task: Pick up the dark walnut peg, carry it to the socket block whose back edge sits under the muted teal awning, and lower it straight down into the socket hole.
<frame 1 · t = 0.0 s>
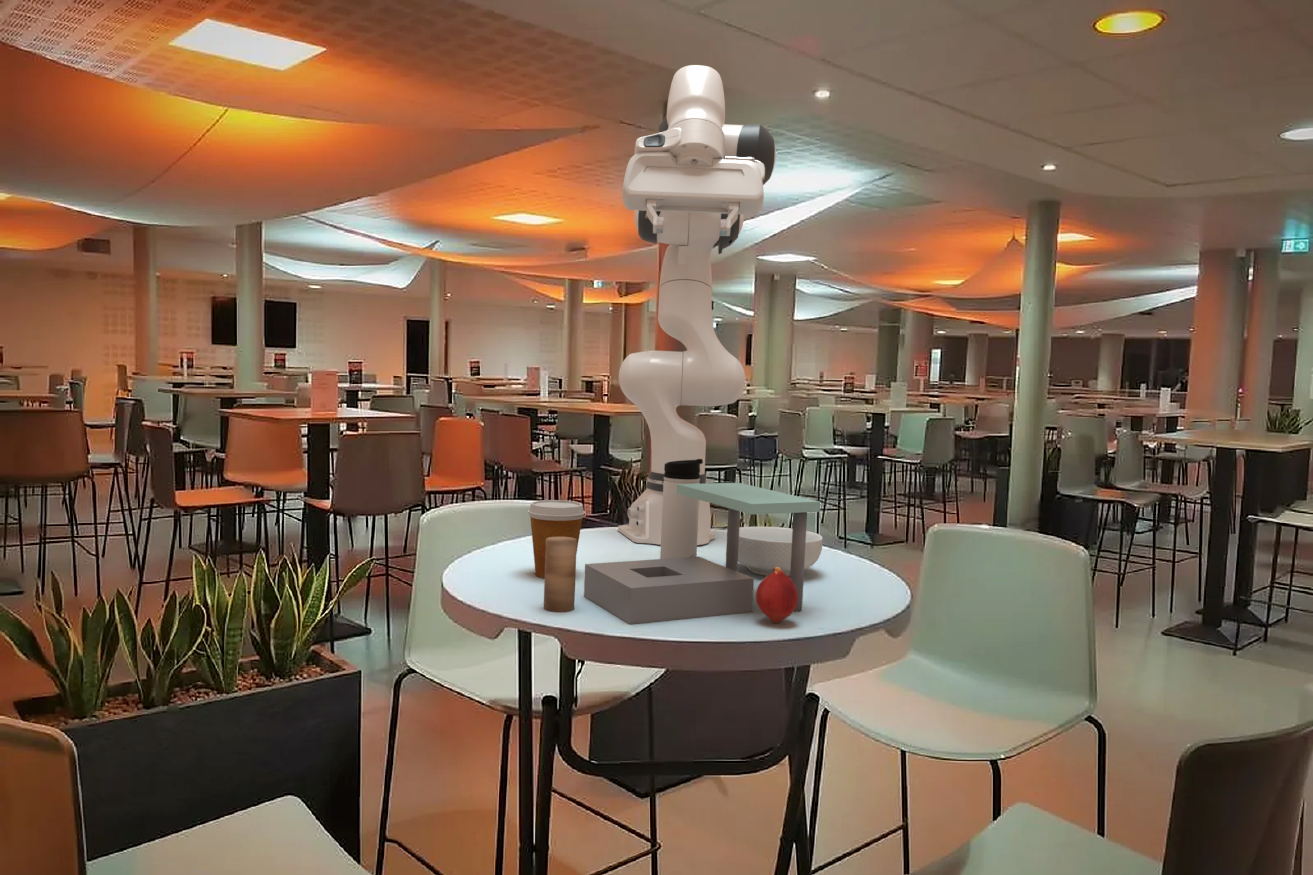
hand: (691, 232, 127), 54 cm above the table, tool tilted 30°, fingers open, 8 cm apart
walnut peg: (558, 608, 130), on the table
disposable coffee cup: (554, 576, 151), on the table
socket block: (654, 605, 134), on the table
onion: (775, 624, 127), on the table
awning: (742, 545, 140), on the table
cereal bowl: (772, 573, 160), on the table
travel mug: (678, 574, 156), on the table
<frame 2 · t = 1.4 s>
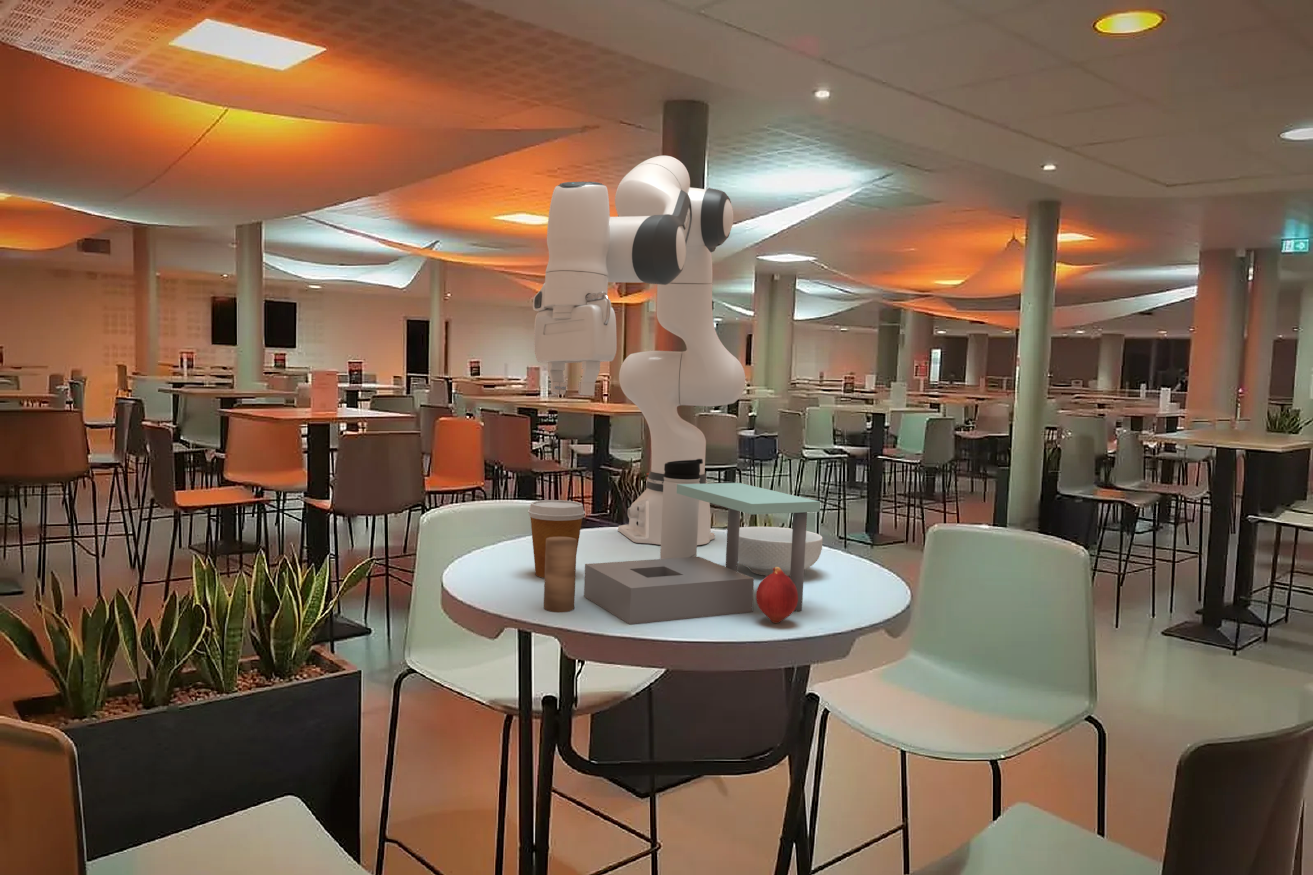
hand: (571, 394, 127), 31 cm above the table, tool pointing down, fingers open, 8 cm apart
nothing on the table moved.
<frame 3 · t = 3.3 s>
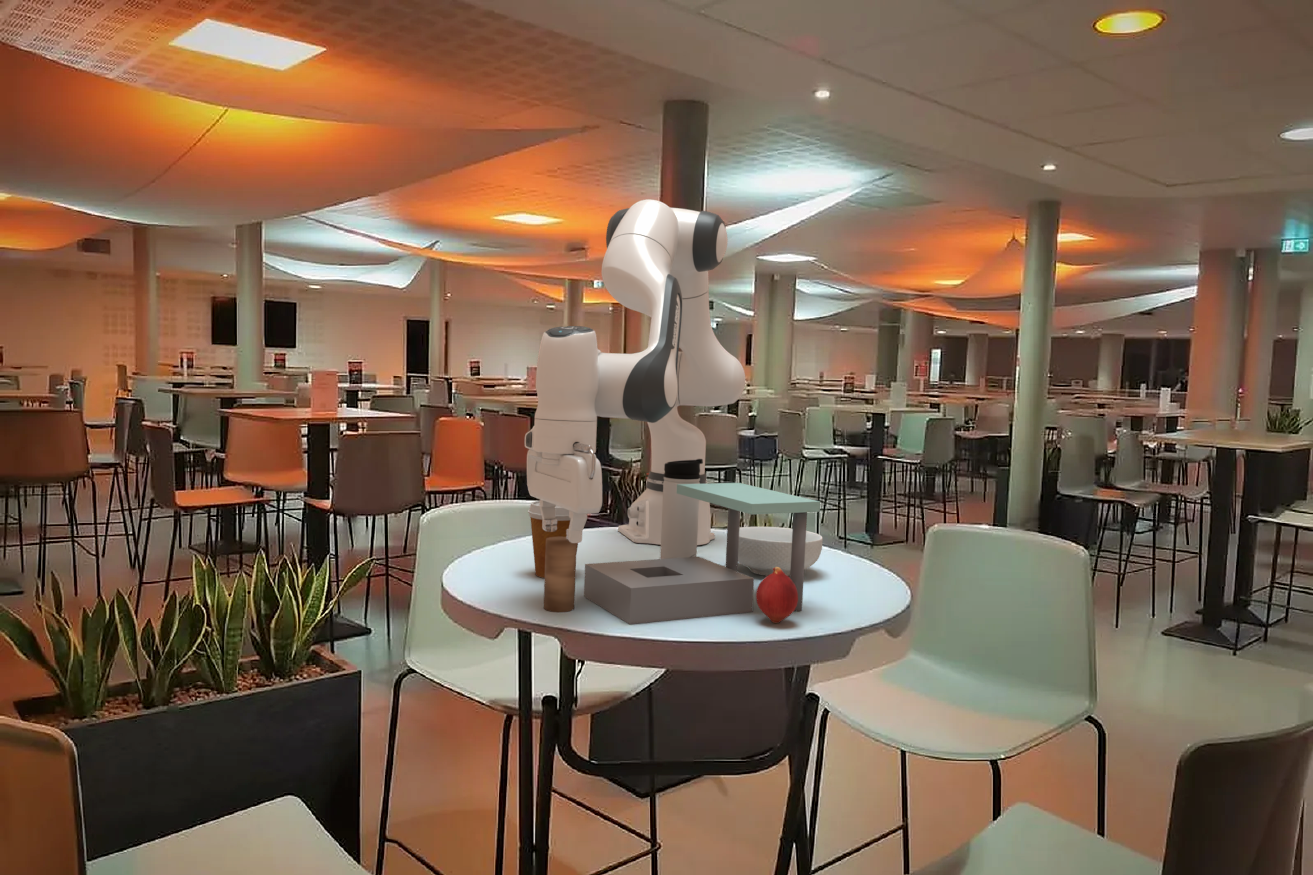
hand: (561, 536, 129), 10 cm above the table, tool pointing down, fingers open, 8 cm apart
nothing on the table moved.
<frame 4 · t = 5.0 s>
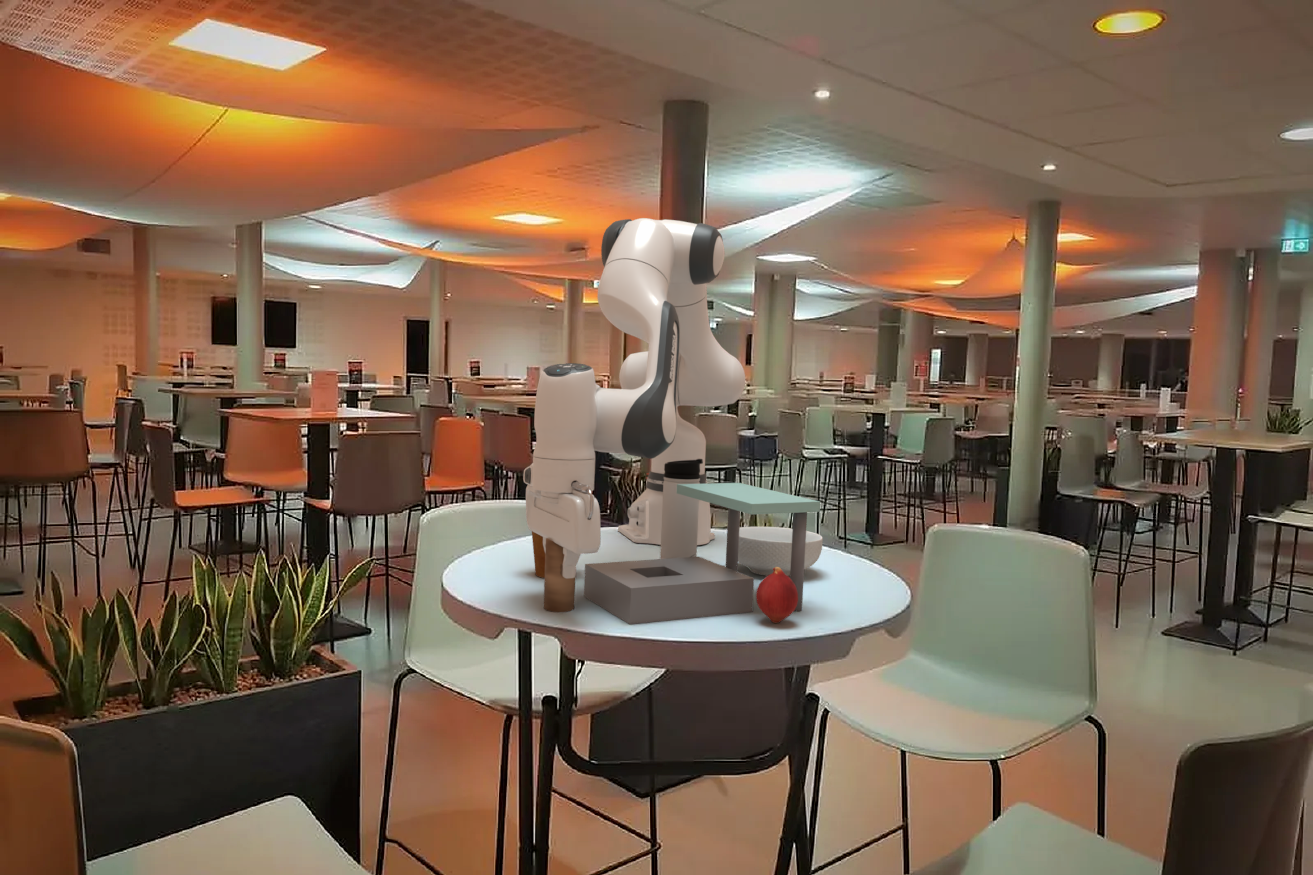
hand: (560, 572, 129), 5 cm above the table, tool pointing down, fingers closed on walnut peg, 4 cm apart
walnut peg: (558, 607, 130), on the table, touching gripper
everything else where it was.
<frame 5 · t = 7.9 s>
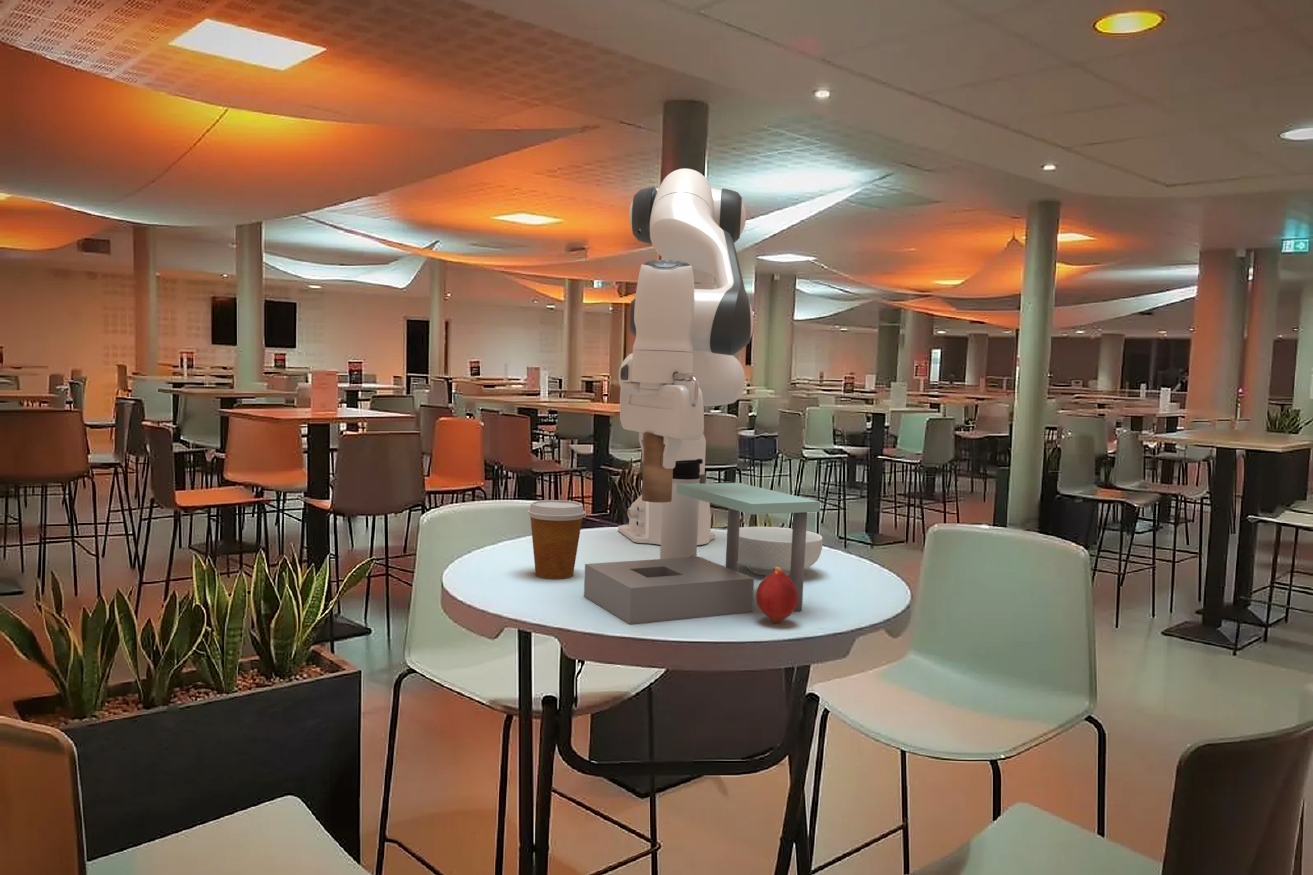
hand: (658, 465, 132), 21 cm above the table, tool pointing down, fingers closed on walnut peg, 4 cm apart
walnut peg: (656, 500, 133), point 16 cm above the table, touching gripper
everything else where it was.
when the fingers open (7 cm above the table, at t = 10.9 s): walnut peg drops 1 cm, resting in socket block.
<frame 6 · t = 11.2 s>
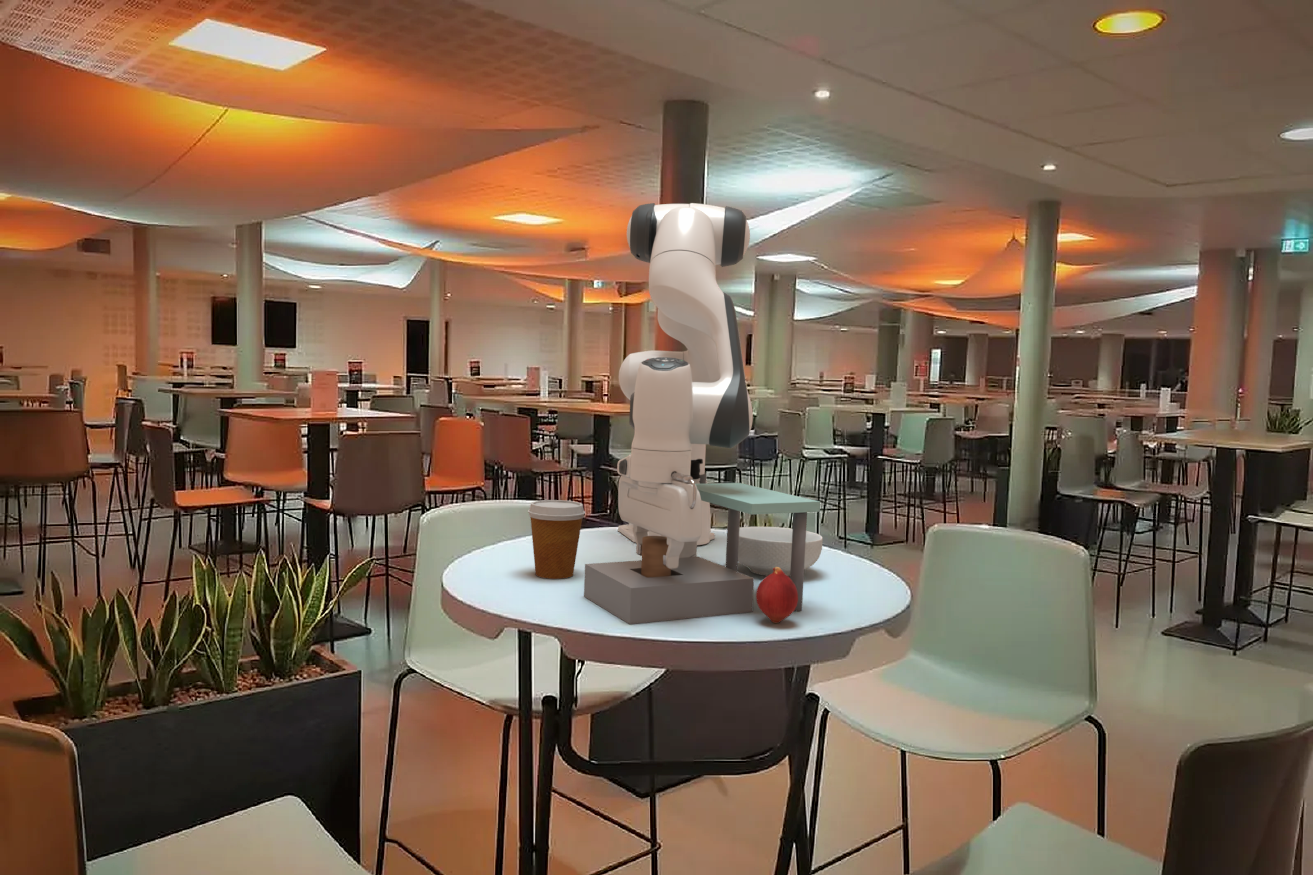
hand: (656, 561, 133), 7 cm above the table, tool pointing down, fingers open, 7 cm apart
walnut peg: (654, 605, 134), resting in socket block
everything else where it was.
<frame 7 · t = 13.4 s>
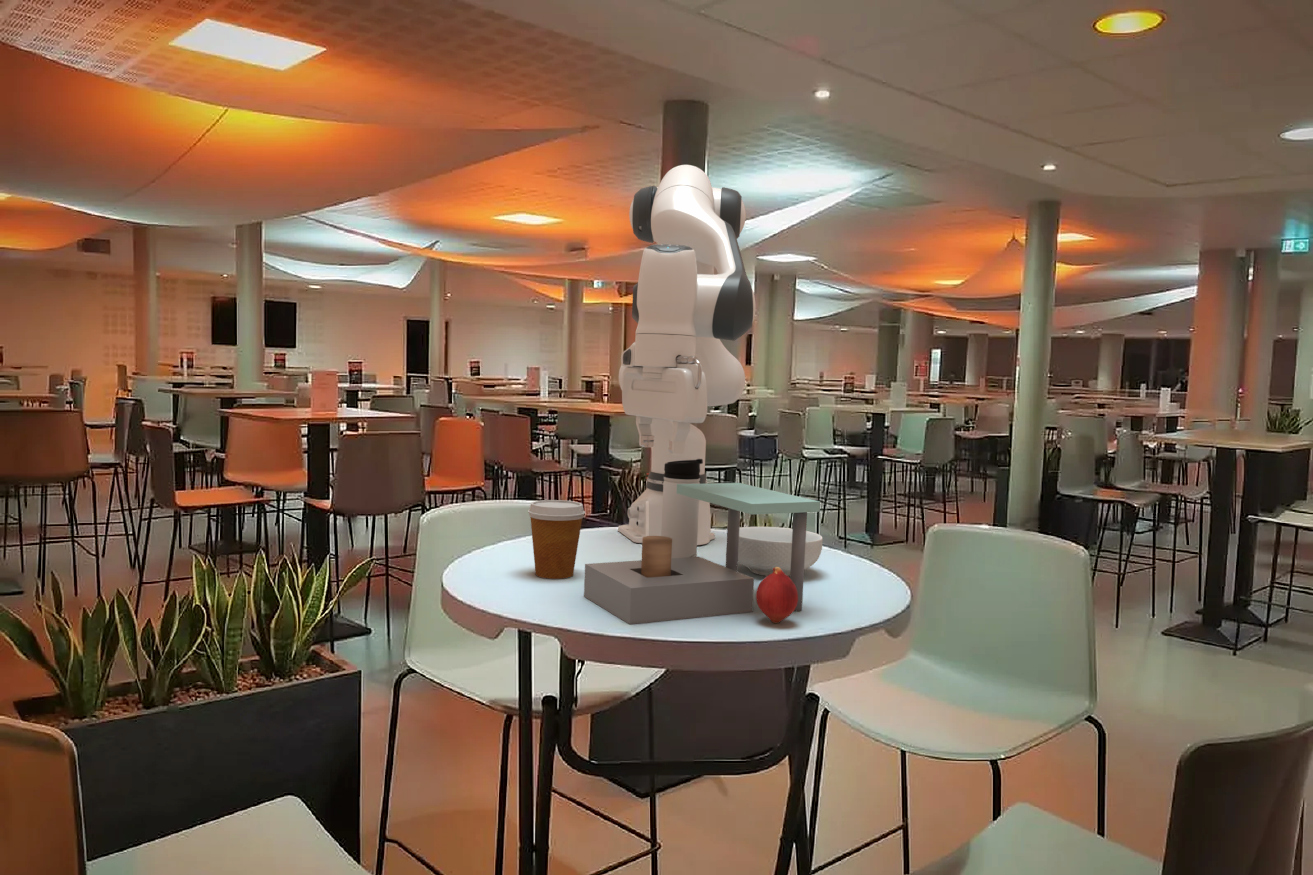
hand: (660, 450, 132), 23 cm above the table, tool pointing down, fingers open, 8 cm apart
nothing on the table moved.
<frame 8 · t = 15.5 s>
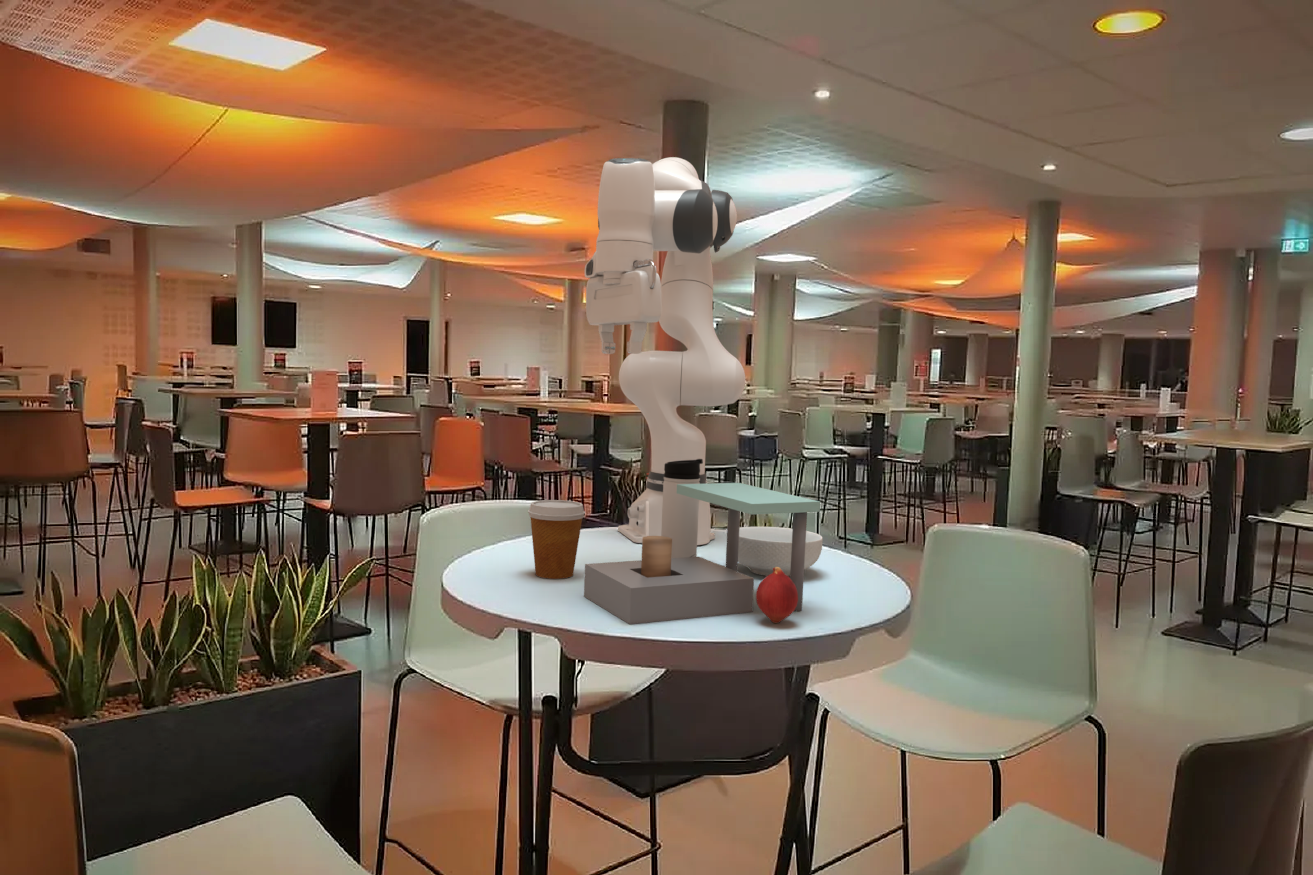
hand: (620, 353, 140), 37 cm above the table, tool pointing down, fingers open, 8 cm apart
nothing on the table moved.
at the end: walnut peg 0.1 cm off-centre on the socket block, point 0.0 cm above the socket block's base; walnut peg tilted 0°; the gripper is holding nothing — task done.
